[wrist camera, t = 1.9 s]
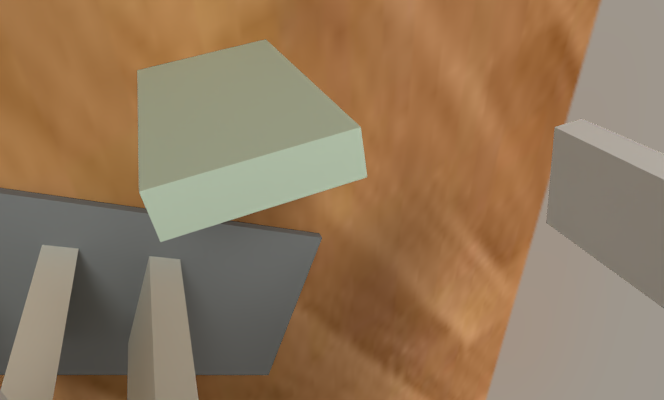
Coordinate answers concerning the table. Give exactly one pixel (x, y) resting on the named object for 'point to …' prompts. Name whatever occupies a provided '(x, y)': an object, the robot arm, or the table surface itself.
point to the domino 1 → (41, 327)
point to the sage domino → (237, 138)
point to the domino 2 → (161, 337)
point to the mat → (128, 274)
